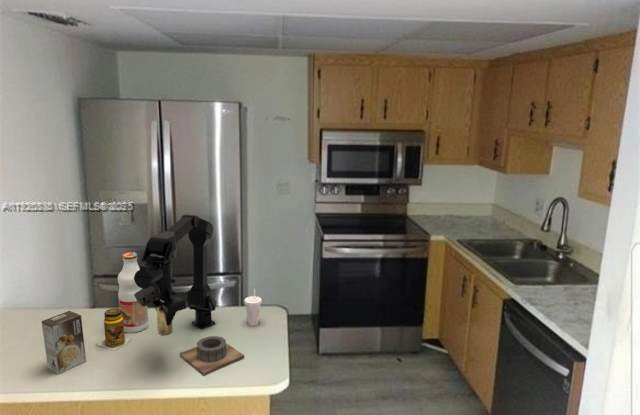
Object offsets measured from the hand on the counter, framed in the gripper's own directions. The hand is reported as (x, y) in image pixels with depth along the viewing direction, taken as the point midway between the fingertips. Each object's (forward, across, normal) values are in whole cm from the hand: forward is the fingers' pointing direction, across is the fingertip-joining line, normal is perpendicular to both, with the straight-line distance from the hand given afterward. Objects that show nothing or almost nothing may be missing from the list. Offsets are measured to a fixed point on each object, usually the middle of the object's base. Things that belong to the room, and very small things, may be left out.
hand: (165, 322), depth 151 cm
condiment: (+13, -21, -9) cm, 27 cm away
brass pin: (+3, 0, 0) cm, 3 cm away
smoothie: (+13, -2, +35) cm, 38 cm away
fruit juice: (+13, -27, +1) cm, 30 cm away
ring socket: (+13, +8, +11) cm, 19 cm away
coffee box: (+13, -17, -25) cm, 33 cm away
